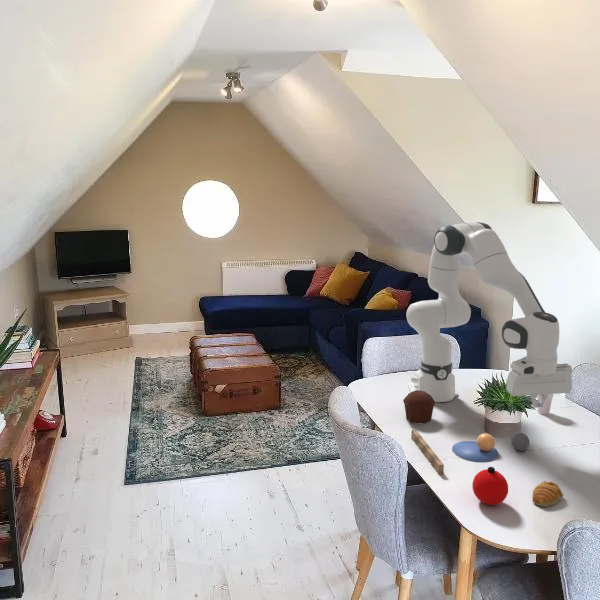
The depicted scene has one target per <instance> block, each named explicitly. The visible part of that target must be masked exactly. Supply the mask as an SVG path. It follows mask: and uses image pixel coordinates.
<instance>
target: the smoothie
mask: <svg viewBox="0 0 600 600" xmlns="http://www.w3.org/2000/svg"><path fill="white" fill-rule="evenodd" d="M553 397H554V394H548V398H547V399H546V401H545V402H544V407H538V408H537V412H538V413H539V414H540V415H544V416H545V415H546V416H547V415H549V414H550V411H551V406H552V401H553ZM540 398H541V395H537V399H536V401H537V400H539V399H540Z"/></svg>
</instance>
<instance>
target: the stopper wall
mask: <svg viewBox="0 0 600 600" xmlns="http://www.w3.org/2000/svg"><path fill="white" fill-rule="evenodd" d="M410 437H411V440H412V441H413V442H415V443H414V444H415V445H416V447H417V446H418V447H417V448H418V450H421V451H420V452H421V453H422V455H423V456H424V457H425V459H426V460H427V459H428V460H427V461H428V462H429V464H430V463H431V464H430V466H432V468H433V469H434V470H435V472H436V474H438V475H444V467H445V464H444V463H443V462H442V460H441V459H440V458H439V456H438V455H437V454H436V453H435V451H433V449H432V447H430V445H429V444H428V443H427V442H426V440H425V439H424V438H423V436H422V435H421V433H420V432H419V431H418V430H417V429H411V435H410Z"/></svg>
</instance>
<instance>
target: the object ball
mask: <svg viewBox="0 0 600 600" xmlns="http://www.w3.org/2000/svg"><path fill="white" fill-rule="evenodd" d="M476 441H477V445H478V447H479V448H480V449H481V450H483V451H490V450H492V449H493V448H495V446H496V441H495V438H494V437H493V436H492V434H489V433H487V432H485V433H481V434H479V435H478V437H477V439H476Z"/></svg>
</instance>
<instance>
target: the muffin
mask: <svg viewBox="0 0 600 600" xmlns="http://www.w3.org/2000/svg"><path fill="white" fill-rule="evenodd" d="M402 402H403V405H404V411H405V418H406V419H405V420H407V421H409V422H410V423H413V424H417V423H418V424H417V425H420V423H422V424H427V422H428V423H430V422H431V421H432V417H433V412H434V407H435V405H436V402H435V401H434V399H433V398H432V396H431V395H430V394H428V393H426V392H425V391H419V390H418V391H413V392H411V393H410V392H409V393H408V394H407V395H406V396H405V397H404V398H403V399H402Z"/></svg>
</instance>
